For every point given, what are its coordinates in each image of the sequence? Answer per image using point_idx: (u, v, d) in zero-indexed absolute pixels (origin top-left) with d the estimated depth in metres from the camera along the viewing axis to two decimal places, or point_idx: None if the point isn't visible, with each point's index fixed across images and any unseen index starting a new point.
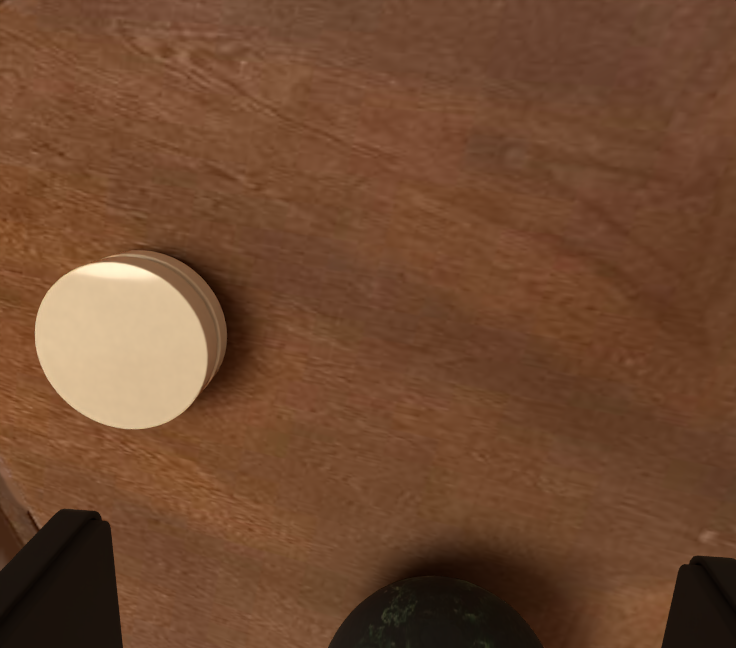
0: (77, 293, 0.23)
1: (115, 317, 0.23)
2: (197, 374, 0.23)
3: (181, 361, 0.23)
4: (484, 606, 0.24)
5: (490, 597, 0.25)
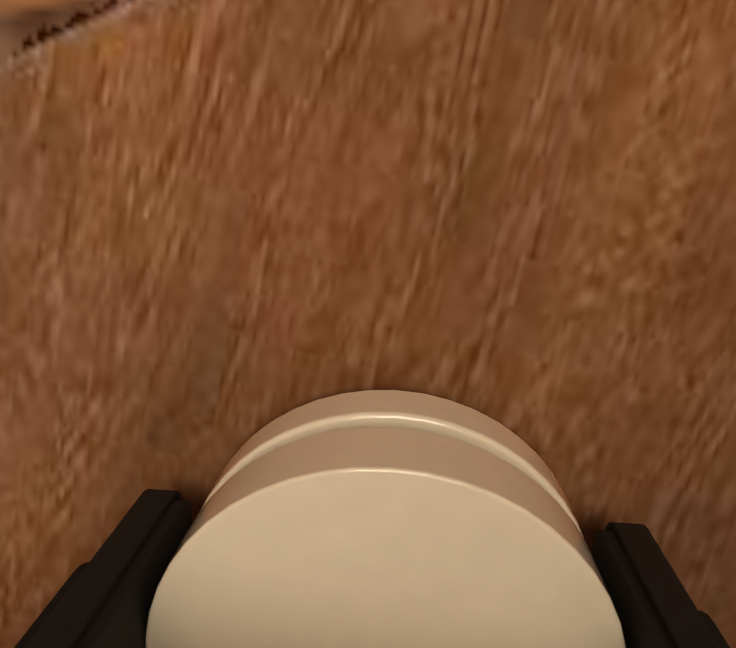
0: (545, 609, 0.08)
1: None
2: None
3: None
4: None
5: None
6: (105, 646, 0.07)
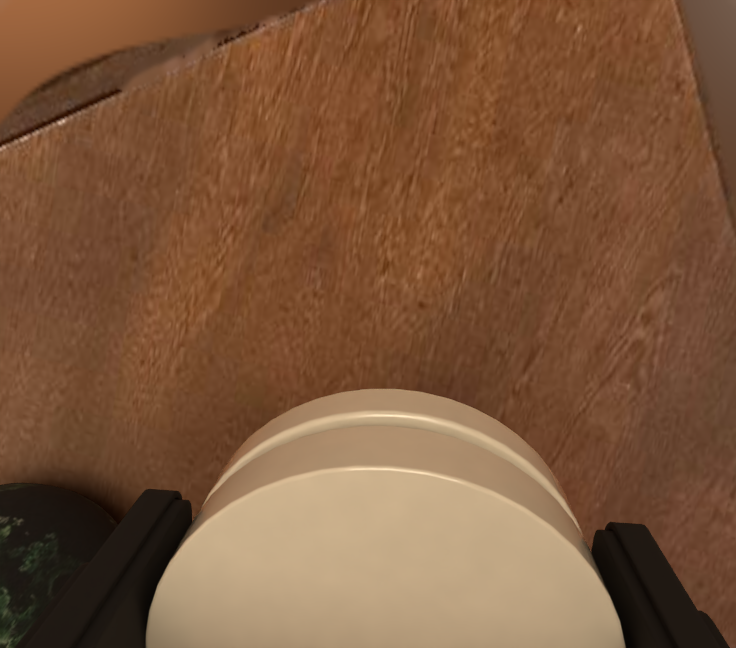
0: (545, 607, 0.08)
1: None
2: None
3: None
4: None
5: None
6: (105, 646, 0.07)
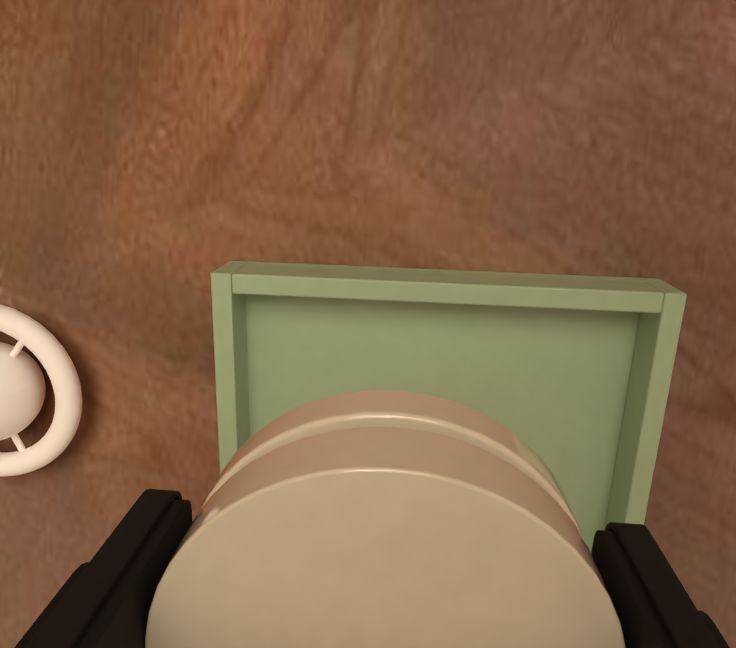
0: (545, 609, 0.08)
1: None
2: None
3: None
4: None
5: None
6: (105, 646, 0.07)
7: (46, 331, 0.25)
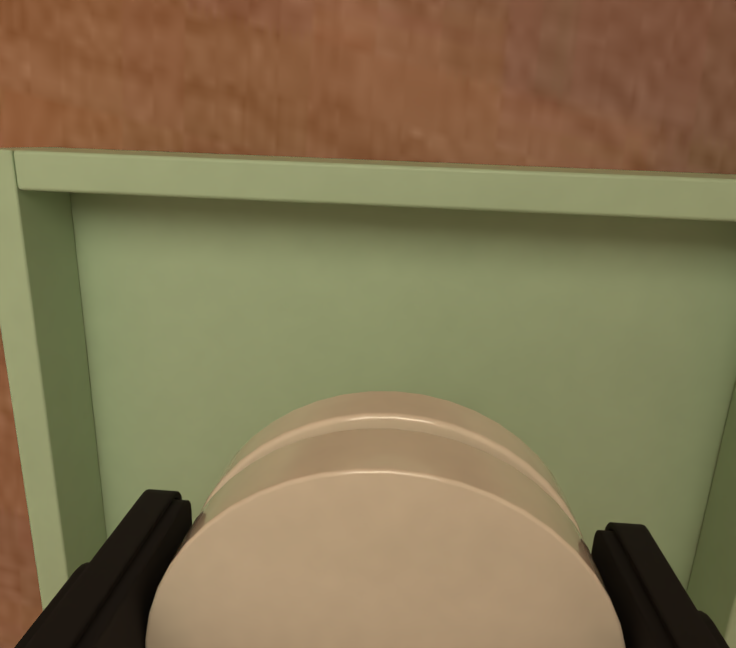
0: (545, 610, 0.08)
1: None
2: None
3: None
4: None
5: None
6: (105, 646, 0.07)
7: None
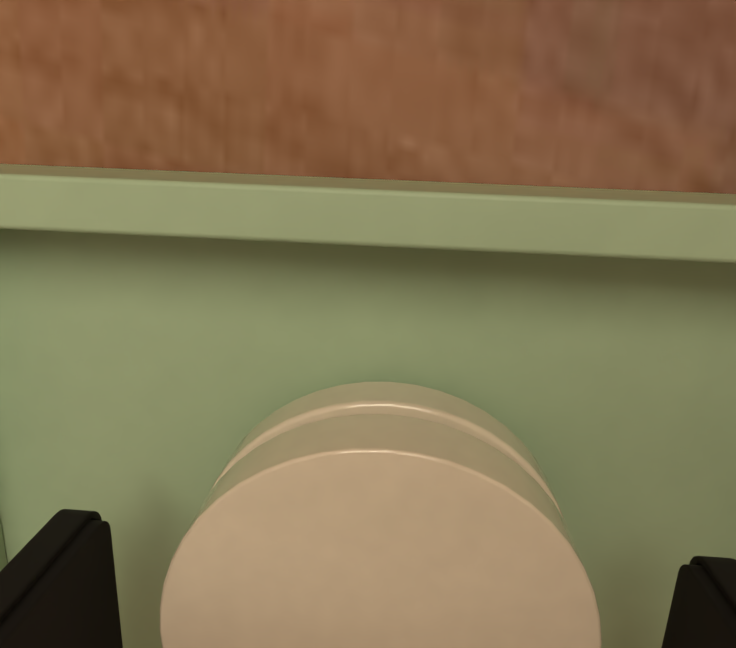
0: (525, 578, 0.09)
1: None
2: None
3: None
4: None
5: None
6: None
7: None
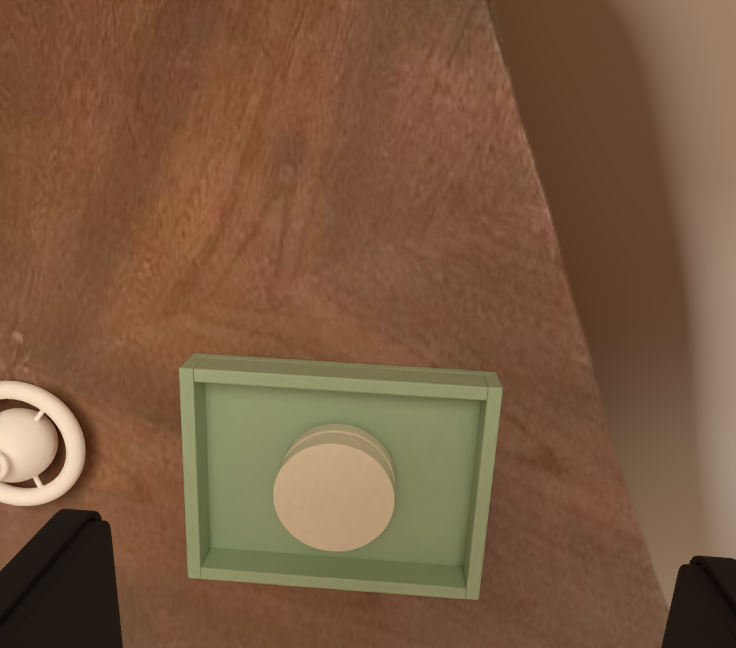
0: (372, 478, 0.33)
1: (356, 499, 0.33)
2: (317, 544, 0.34)
3: (325, 535, 0.34)
4: None
5: None
6: None
7: (61, 403, 0.35)
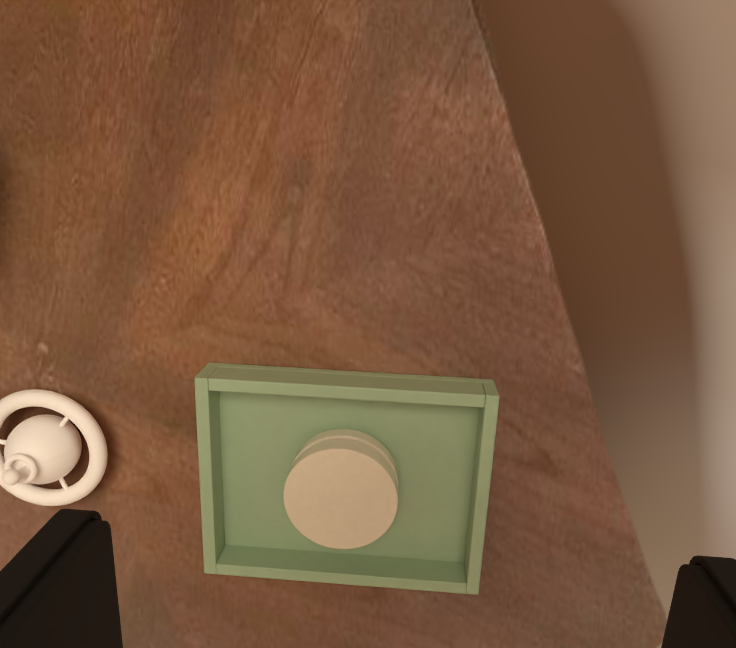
0: (377, 480, 0.35)
1: (361, 500, 0.35)
2: (325, 542, 0.36)
3: (333, 534, 0.36)
4: None
5: None
6: None
7: (84, 410, 0.37)
